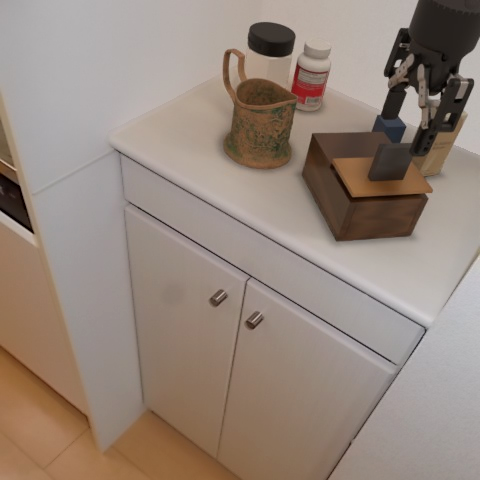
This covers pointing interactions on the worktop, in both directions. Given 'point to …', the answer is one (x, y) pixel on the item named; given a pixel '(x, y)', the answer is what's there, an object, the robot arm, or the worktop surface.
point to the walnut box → (356, 208)
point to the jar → (269, 52)
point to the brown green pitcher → (258, 119)
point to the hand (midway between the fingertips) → (401, 135)
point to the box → (438, 148)
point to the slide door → (382, 173)
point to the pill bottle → (311, 74)
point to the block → (390, 128)
